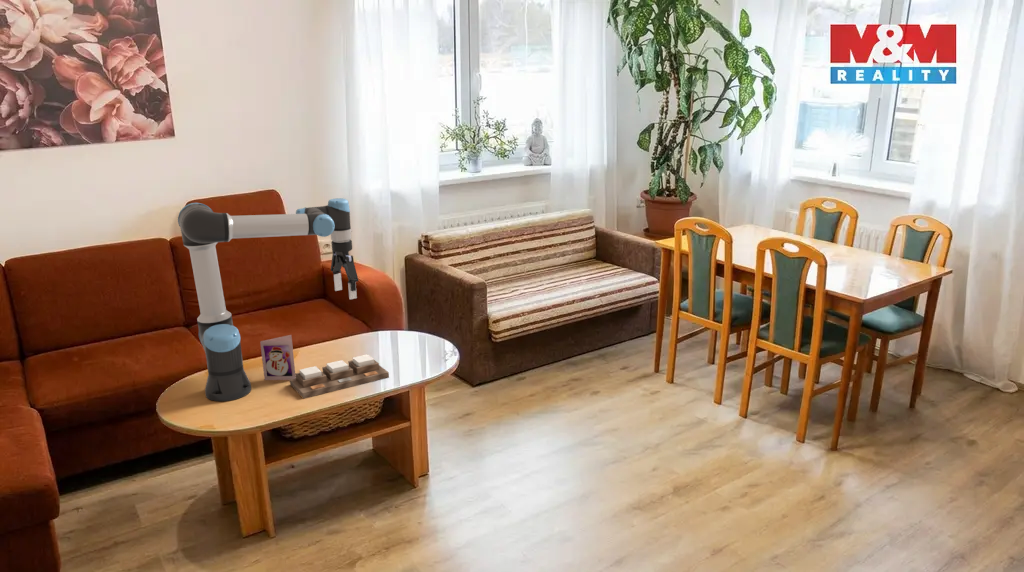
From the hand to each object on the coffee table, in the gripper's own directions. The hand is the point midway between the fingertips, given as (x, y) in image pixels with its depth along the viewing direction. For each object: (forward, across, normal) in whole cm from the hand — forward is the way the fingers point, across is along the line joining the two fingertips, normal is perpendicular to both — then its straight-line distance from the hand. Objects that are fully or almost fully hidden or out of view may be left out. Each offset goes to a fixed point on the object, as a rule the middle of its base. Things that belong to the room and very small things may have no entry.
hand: (345, 294), depth 302 cm
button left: (+22, -19, +23) cm, 37 cm away
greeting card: (+25, -4, +29) cm, 39 cm away
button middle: (+21, -19, +13) cm, 32 cm away
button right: (+22, -20, +3) cm, 29 cm away
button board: (+25, -21, +13) cm, 35 cm away
